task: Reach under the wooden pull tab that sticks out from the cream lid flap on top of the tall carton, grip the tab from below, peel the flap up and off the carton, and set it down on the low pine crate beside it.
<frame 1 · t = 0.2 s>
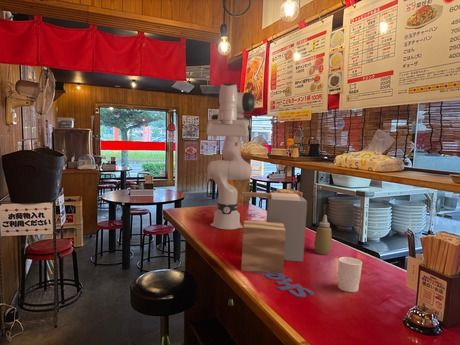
hand: (226, 145, 164), 48 cm above the counter, tool pointing down, fingers open, 8 cm apart
pine crate: (261, 266, 136), on the counter
carton: (283, 255, 151), on the counter
white cup: (347, 288, 119), on the counter
lid flap: (284, 198, 149), point 26 cm above the counter, touching carton
squeeze bottle: (322, 253, 158), on the counter
signage: (279, 282, 123), on the counter
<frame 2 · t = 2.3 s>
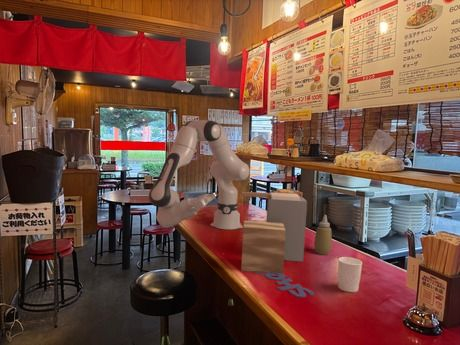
hand: (215, 194, 157), 25 cm above the counter, tool pointing upward, fingers open, 8 cm apart
nothing on the counter moved.
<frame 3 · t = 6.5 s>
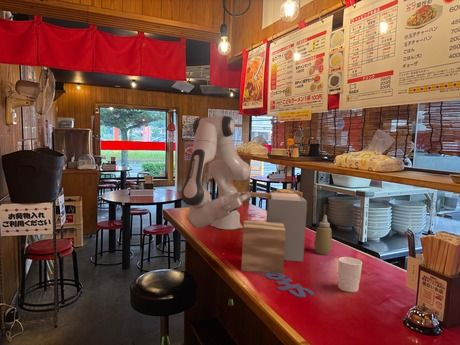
hand: (250, 193, 150), 27 cm above the counter, tool pointing upward, fingers closed on lid flap, 4 cm apart
lid flap: (284, 198, 149), point 26 cm above the counter, touching carton, gripper
everything else where it was.
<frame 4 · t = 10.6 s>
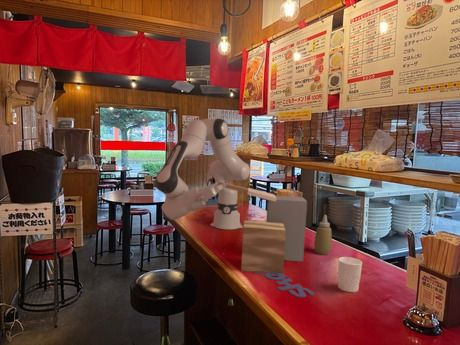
hand: (226, 183, 143), 32 cm above the counter, tool pointing upward, fingers closed on lid flap, 4 cm apart
lid flap: (260, 196, 143), point 27 cm above the counter, tilted 11°, touching carton, gripper
everything else where it was.
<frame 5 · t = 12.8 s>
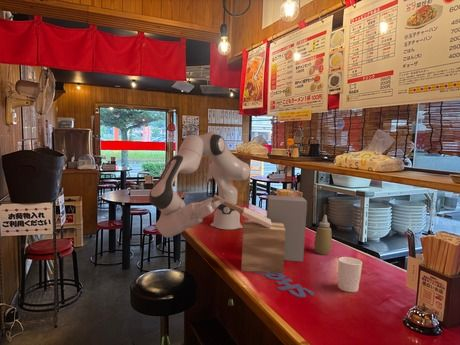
hand: (224, 198, 134), 27 cm above the counter, tool pointing upward, fingers closed on lid flap, 4 cm apart
lid flap: (255, 219, 134), point 19 cm above the counter, tilted 22°, touching gripper
everything else where it was.
when the fingers open (20 cm above the counter, at t = 14.7 s): lid flap stays where it is, resting on pine crate.
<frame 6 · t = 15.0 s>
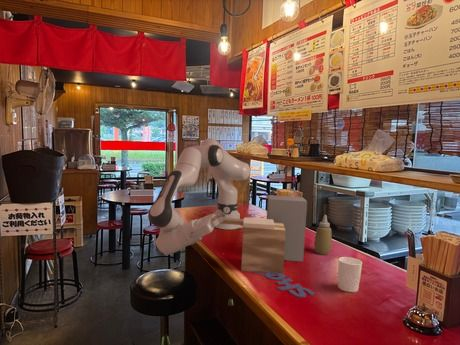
hand: (223, 216, 135), 19 cm above the counter, tool pointing upward, fingers open, 7 cm apart
lid flap: (258, 224, 134), point 17 cm above the counter, touching pine crate
everything else where it was.
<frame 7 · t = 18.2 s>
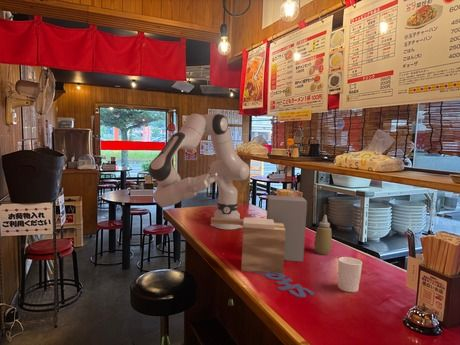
hand: (218, 175, 147), 34 cm above the counter, tool pointing upward, fingers open, 8 cm apart
nothing on the counter moved.
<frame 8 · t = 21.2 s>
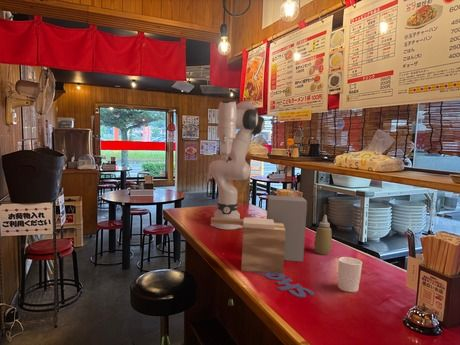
hand: (224, 163, 160), 39 cm above the counter, tool pointing down, fingers open, 8 cm apart
nothing on the counter moved.
at the end: lid flap inside the target area on the pine crate (1.7 cm from its centre), point 17.0 cm above the pine crate's base; lid flap touching pine crate; the gripper is holding nothing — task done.
